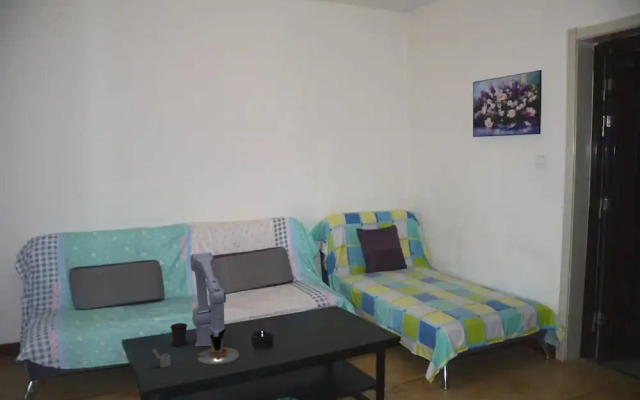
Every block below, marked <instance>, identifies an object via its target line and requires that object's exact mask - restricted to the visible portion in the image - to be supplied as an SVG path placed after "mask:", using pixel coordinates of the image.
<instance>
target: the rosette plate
mask: <svg viewBox="0 0 640 400" xmlns="http://www.w3.org/2000/svg"><path fill="white" fill-rule="evenodd" d="M239 356H240V352H239V350H237V349H235V348H231V347H223V353H211V348H209V349H208V348H207V349H206V350H203V351H201V352H200V353H198V356H197V359H198V362H199V363H202V364H206V365H214V366H215V365H226V364H229V363H231V362H234V361H237V359H238V358H239Z"/></svg>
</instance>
